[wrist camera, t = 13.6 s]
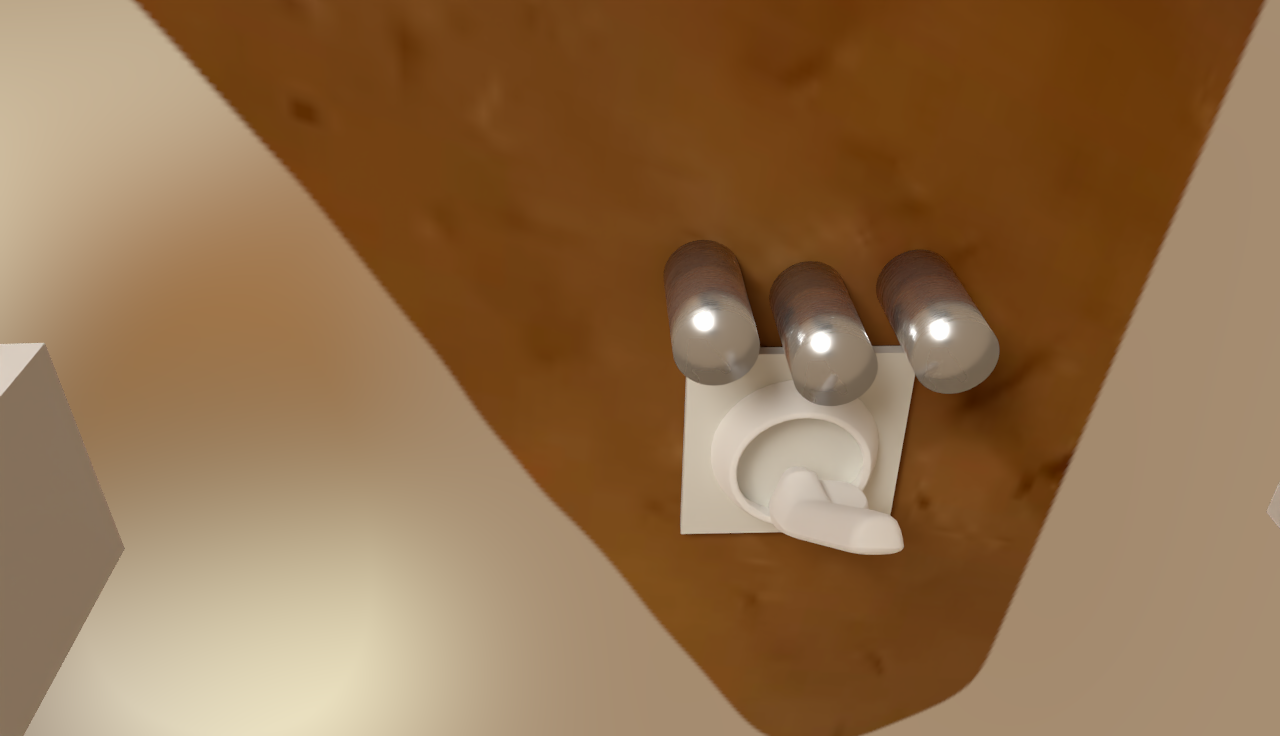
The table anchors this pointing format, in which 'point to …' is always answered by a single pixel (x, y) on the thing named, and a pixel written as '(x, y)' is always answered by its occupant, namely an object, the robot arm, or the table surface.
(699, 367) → the cylinder
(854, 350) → the spacer
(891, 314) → the cylinder
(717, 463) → the hook
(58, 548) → the robot arm
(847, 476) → the felt pad
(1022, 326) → the table surface
